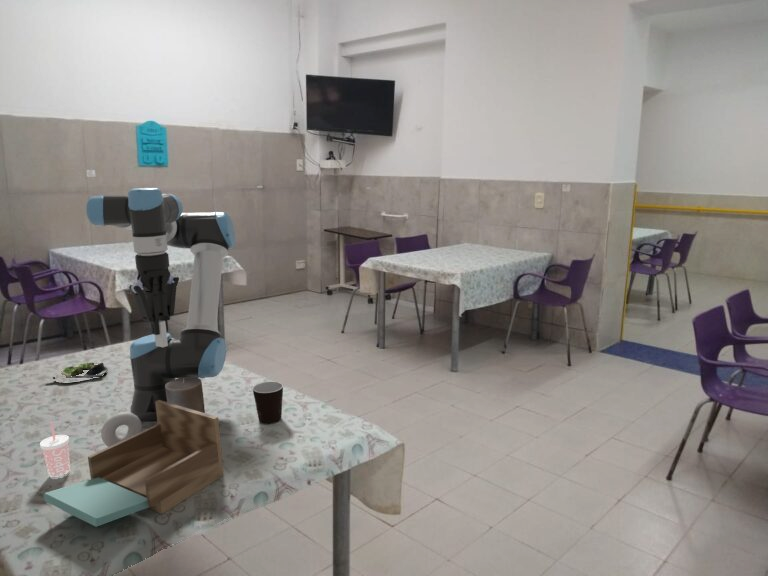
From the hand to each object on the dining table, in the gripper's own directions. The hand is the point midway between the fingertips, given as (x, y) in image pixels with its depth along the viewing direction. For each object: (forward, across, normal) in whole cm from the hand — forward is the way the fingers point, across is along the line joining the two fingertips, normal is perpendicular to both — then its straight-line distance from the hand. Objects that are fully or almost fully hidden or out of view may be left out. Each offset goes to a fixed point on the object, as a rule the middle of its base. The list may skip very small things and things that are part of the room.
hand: (161, 345), depth 143 cm
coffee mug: (+29, +27, -10) cm, 41 cm away
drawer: (+28, -12, -11) cm, 33 cm away
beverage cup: (+29, -22, +14) cm, 39 cm away
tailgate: (+25, -22, -11) cm, 35 cm away
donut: (+29, -6, +12) cm, 32 cm away
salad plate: (+29, +21, +74) cm, 82 cm away
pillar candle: (+29, +10, +6) cm, 31 cm away
